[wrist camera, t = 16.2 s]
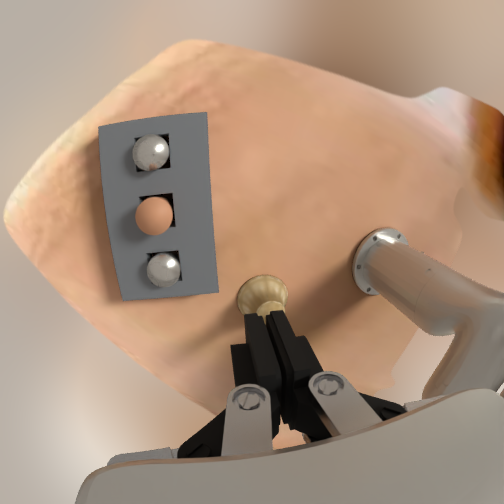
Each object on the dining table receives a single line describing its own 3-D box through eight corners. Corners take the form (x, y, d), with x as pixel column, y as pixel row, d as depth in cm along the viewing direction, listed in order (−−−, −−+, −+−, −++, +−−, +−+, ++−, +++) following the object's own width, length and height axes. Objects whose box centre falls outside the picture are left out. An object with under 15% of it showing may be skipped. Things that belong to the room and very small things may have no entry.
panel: (206, 116, 35) (207, 112, 31) (217, 280, 43) (219, 292, 39) (107, 129, 33) (98, 126, 29) (128, 288, 41) (122, 300, 37)
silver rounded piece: (180, 242, 39) (177, 254, 35) (183, 271, 41) (182, 285, 36) (150, 245, 39) (144, 257, 34) (154, 273, 40) (149, 288, 35)
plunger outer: (171, 135, 34) (167, 132, 30) (173, 167, 36) (169, 168, 31) (139, 139, 34) (131, 137, 29) (141, 171, 35) (133, 172, 30)
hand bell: (277, 266, 44) (316, 320, 29) (293, 307, 47) (331, 368, 32) (228, 287, 44) (245, 352, 29) (248, 327, 47) (270, 395, 32)
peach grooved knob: (173, 191, 35) (170, 196, 31) (176, 223, 37) (173, 233, 32) (141, 194, 35) (133, 200, 30) (145, 227, 36) (138, 237, 32)
